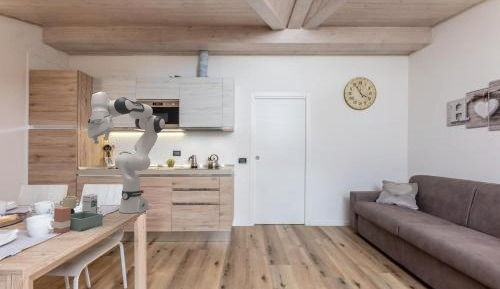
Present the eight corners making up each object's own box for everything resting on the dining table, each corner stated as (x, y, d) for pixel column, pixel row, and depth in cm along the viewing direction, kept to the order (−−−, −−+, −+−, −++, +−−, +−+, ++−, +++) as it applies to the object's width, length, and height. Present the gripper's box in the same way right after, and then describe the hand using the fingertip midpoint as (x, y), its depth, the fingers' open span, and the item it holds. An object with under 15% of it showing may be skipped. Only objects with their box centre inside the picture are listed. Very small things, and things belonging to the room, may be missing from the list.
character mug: (81, 217, 173) (82, 196, 173) (76, 220, 166) (77, 198, 166) (61, 217, 172) (63, 196, 172) (55, 220, 165) (56, 198, 165)
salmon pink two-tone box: (62, 229, 149) (63, 206, 149) (70, 231, 147) (71, 207, 147) (53, 232, 144) (54, 208, 144) (60, 233, 142) (61, 209, 142)
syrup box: (90, 220, 168) (91, 195, 169) (81, 219, 170) (82, 195, 170) (97, 218, 174) (98, 194, 174) (88, 217, 175) (89, 193, 175)
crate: (83, 222, 164) (83, 211, 164) (102, 224, 160) (102, 214, 160) (60, 228, 151) (60, 216, 151) (80, 231, 147) (81, 219, 147)
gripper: (116, 114, 161) (117, 138, 158) (95, 124, 171) (96, 146, 168) (105, 112, 156) (106, 136, 153) (85, 122, 166) (85, 145, 163)
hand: (101, 142), depth 161 cm, fingers open, 8 cm apart
